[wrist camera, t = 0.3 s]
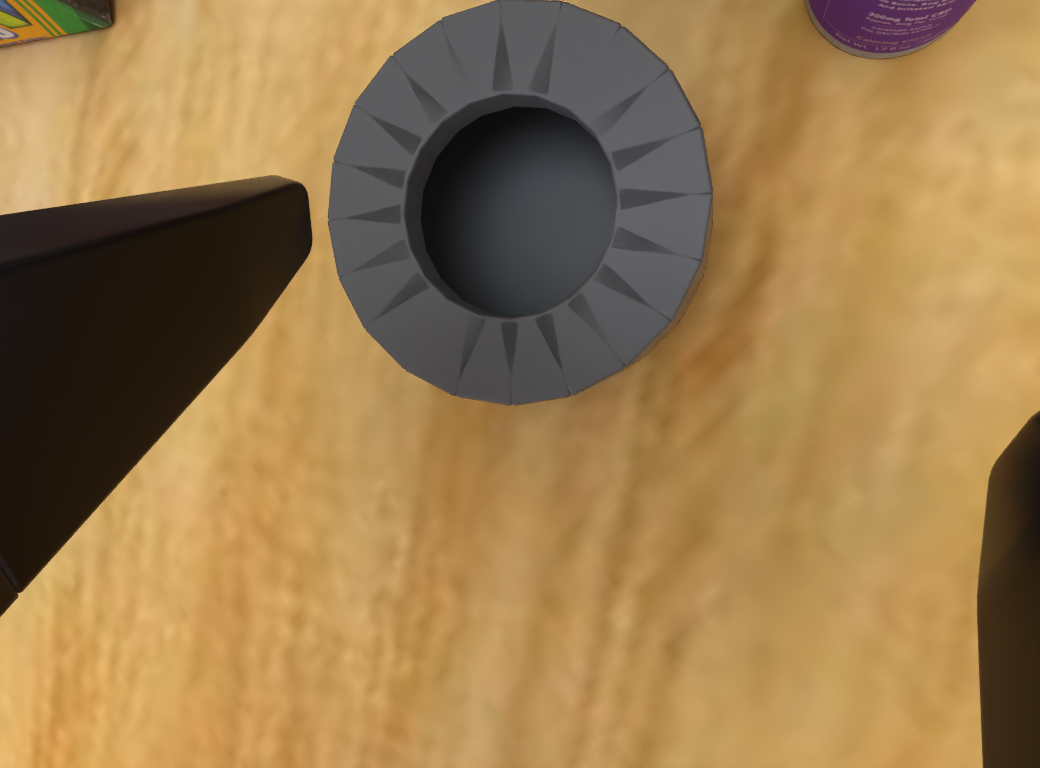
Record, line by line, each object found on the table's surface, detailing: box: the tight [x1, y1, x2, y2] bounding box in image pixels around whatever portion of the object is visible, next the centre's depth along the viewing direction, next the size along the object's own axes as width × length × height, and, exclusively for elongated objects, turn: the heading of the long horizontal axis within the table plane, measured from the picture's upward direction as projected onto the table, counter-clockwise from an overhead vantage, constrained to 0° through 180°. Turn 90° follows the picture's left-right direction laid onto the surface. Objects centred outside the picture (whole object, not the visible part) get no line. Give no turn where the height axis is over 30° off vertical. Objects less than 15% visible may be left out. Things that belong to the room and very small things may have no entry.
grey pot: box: [328, 0, 713, 405], centre depth 21 cm, size 10×10×6 cm
